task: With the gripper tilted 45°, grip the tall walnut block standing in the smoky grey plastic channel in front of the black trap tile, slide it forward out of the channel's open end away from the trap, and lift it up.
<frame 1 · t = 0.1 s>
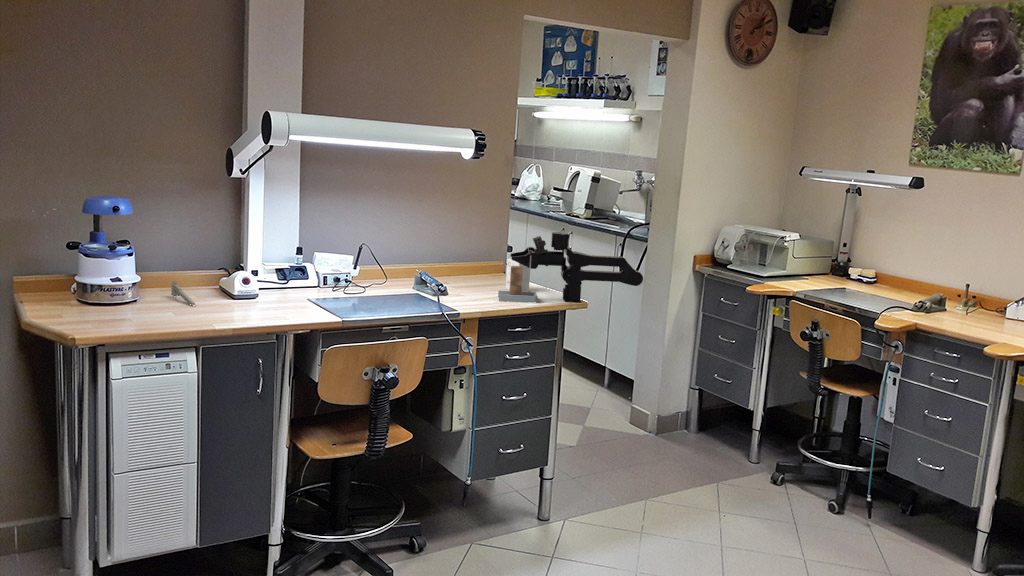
hand: (511, 256, 328), 17 cm above the table, tool horizontal, fingers open, 9 cm apart
caliper: (183, 302, 292), on the table
walnut block: (514, 299, 329), resting in channel
channel: (517, 299, 329), on the table
small box: (517, 291, 348), on the table
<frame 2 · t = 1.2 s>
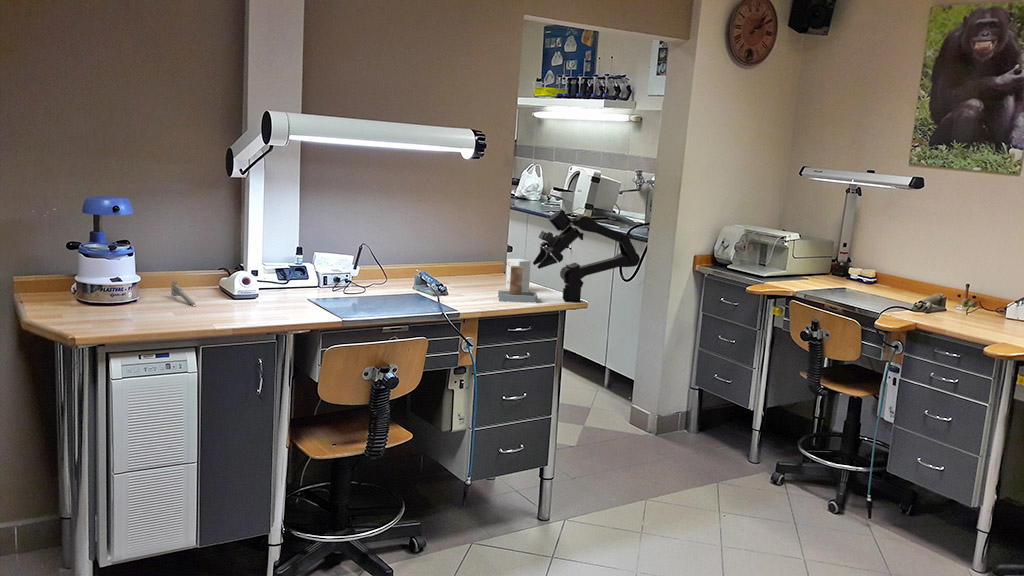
hand: (535, 266, 328), 14 cm above the table, tool tilted 45°, fingers open, 9 cm apart
nothing on the table moved.
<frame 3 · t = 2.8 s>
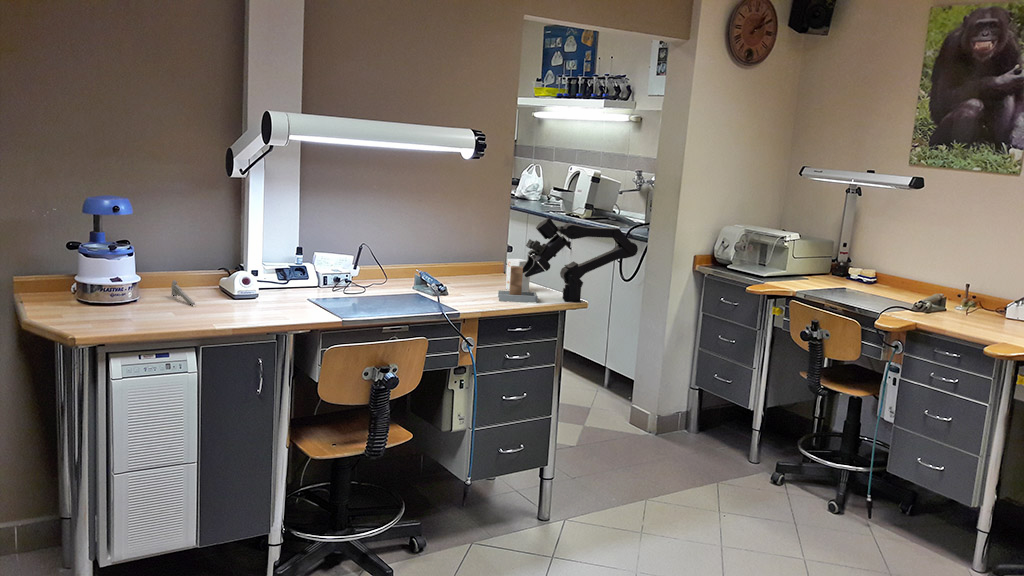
hand: (523, 274, 327), 10 cm above the table, tool tilted 45°, fingers open, 9 cm apart
nothing on the table moved.
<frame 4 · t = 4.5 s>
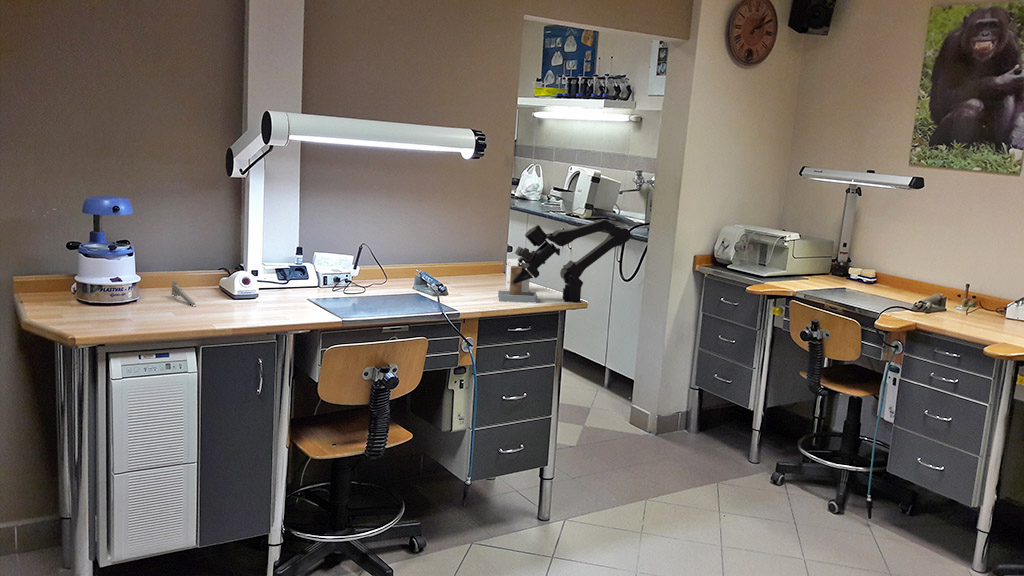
hand: (512, 281, 327), 7 cm above the table, tool tilted 45°, fingers closed on walnut block, 5 cm apart
walnut block: (514, 299, 329), resting in channel, touching gripper
everything else where it was.
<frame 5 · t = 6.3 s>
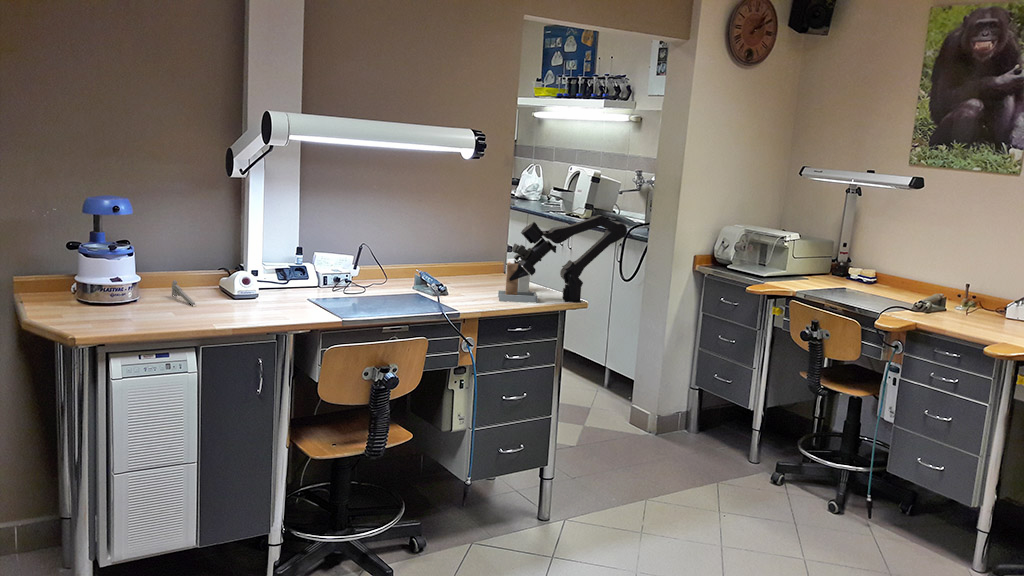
hand: (508, 278, 327), 8 cm above the table, tool tilted 45°, fingers closed on walnut block, 5 cm apart
walnut block: (511, 296, 328), point 1 cm above the table, touching gripper
everything else where it was.
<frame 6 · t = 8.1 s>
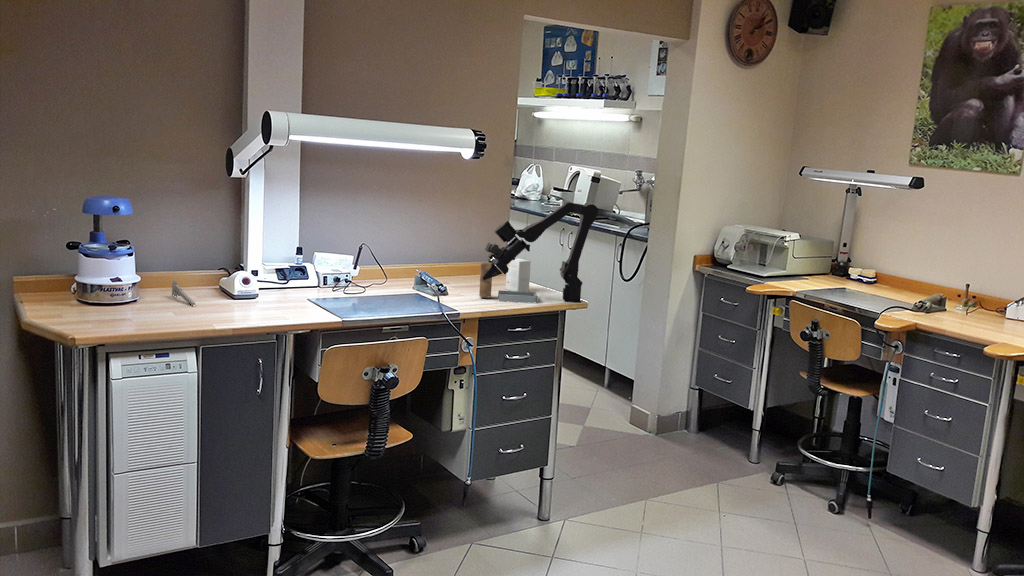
hand: (482, 278, 326), 8 cm above the table, tool tilted 45°, fingers closed on walnut block, 5 cm apart
walnut block: (485, 295, 328), point 1 cm above the table, touching gripper
everything else where it was.
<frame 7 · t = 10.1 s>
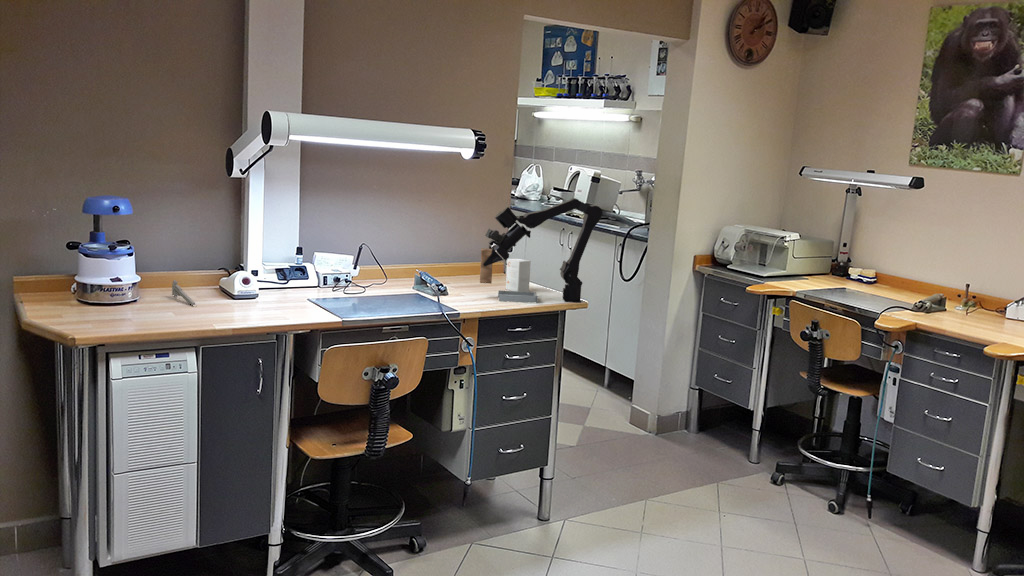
hand: (482, 264, 325), 13 cm above the table, tool tilted 45°, fingers closed on walnut block, 5 cm apart
walnut block: (485, 282, 327), point 6 cm above the table, touching gripper
everything else where it was.
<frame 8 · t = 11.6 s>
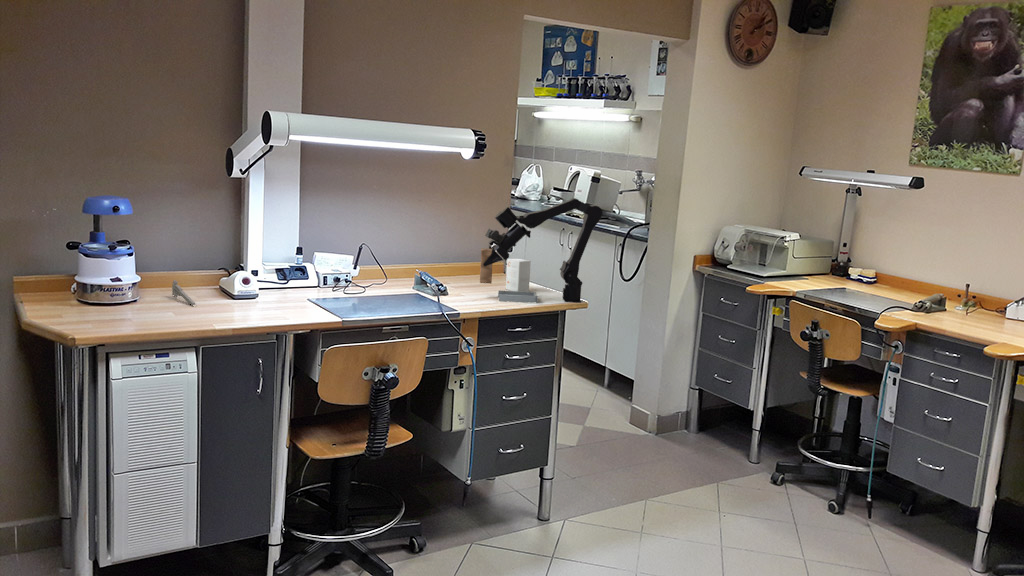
hand: (482, 264, 325), 13 cm above the table, tool tilted 45°, fingers closed on walnut block, 5 cm apart
walnut block: (485, 282, 327), point 6 cm above the table, touching gripper
everything else where it was.
at the end: walnut block inside the target area (0.6 cm from its centre), point 6.3 cm above the table; the gripper is holding walnut block; walnut block tilted 1° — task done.
